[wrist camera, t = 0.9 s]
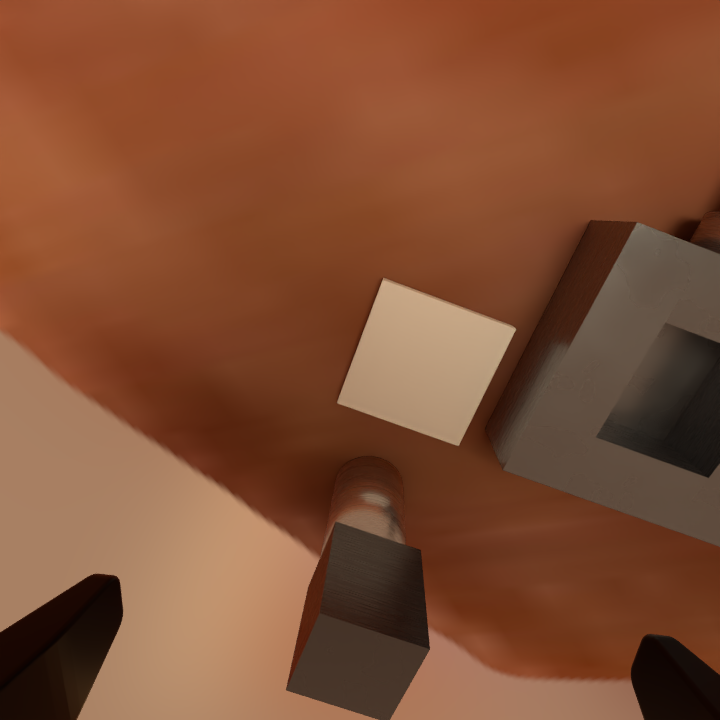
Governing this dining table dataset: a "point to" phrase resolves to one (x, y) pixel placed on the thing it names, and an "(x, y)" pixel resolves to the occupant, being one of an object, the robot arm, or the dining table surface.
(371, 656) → the dark square post
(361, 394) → the pad
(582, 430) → the block
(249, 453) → the dining table surface
